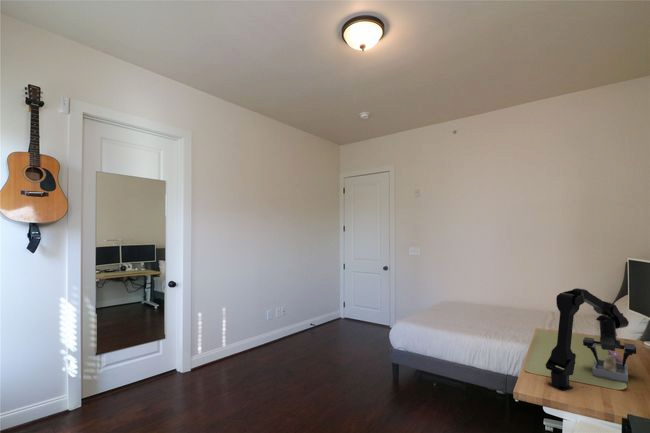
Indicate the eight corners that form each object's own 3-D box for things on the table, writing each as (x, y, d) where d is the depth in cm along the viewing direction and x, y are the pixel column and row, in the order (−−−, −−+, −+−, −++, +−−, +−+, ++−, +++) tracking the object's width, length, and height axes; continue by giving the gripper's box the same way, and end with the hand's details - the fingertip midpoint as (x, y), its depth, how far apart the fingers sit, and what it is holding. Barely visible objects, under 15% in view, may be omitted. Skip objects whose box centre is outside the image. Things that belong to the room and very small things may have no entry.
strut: (604, 375, 151) (603, 364, 152) (605, 366, 160) (604, 356, 161) (615, 377, 149) (615, 366, 149) (616, 369, 158) (615, 358, 158)
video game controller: (612, 361, 172) (604, 348, 174) (622, 358, 170) (613, 345, 172) (618, 368, 163) (609, 354, 165) (628, 365, 162) (619, 351, 163)
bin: (628, 383, 145) (627, 375, 145) (592, 376, 153) (592, 368, 153) (628, 371, 156) (627, 364, 156) (595, 365, 164) (594, 358, 164)
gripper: (580, 330, 156) (583, 364, 155) (635, 338, 143) (638, 375, 143) (583, 325, 164) (585, 357, 163) (634, 331, 152) (637, 366, 151)
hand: (610, 363), depth 155 cm, fingers open, 9 cm apart
